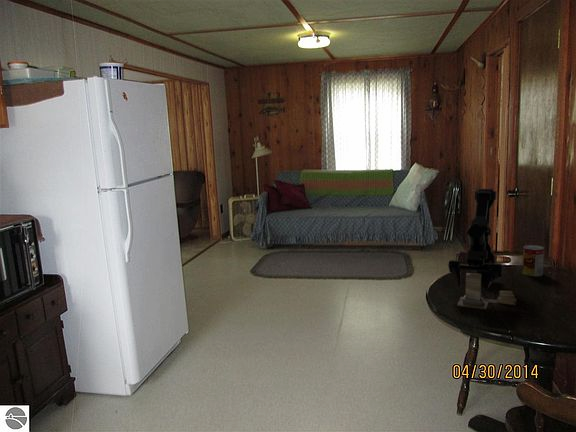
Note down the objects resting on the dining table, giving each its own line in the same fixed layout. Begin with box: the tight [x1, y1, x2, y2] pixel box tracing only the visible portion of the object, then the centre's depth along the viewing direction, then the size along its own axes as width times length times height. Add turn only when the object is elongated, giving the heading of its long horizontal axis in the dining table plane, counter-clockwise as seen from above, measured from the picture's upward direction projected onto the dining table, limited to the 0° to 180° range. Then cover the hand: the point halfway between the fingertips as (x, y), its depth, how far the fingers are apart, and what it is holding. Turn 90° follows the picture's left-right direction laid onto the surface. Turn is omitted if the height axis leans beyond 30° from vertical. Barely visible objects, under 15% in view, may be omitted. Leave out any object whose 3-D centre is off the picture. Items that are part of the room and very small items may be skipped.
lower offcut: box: [498, 294, 514, 305], centre depth 174 cm, size 6×5×2 cm
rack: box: [456, 294, 517, 310], centre depth 174 cm, size 14×19×3 cm
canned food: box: [522, 244, 545, 277], centre depth 204 cm, size 8×8×12 cm
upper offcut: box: [498, 290, 515, 300], centre depth 174 cm, size 5×4×2 cm
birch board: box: [465, 272, 482, 301], centre depth 173 cm, size 3×5×11 cm, turn 62°
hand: (472, 288), depth 172 cm, fingers open, 9 cm apart
